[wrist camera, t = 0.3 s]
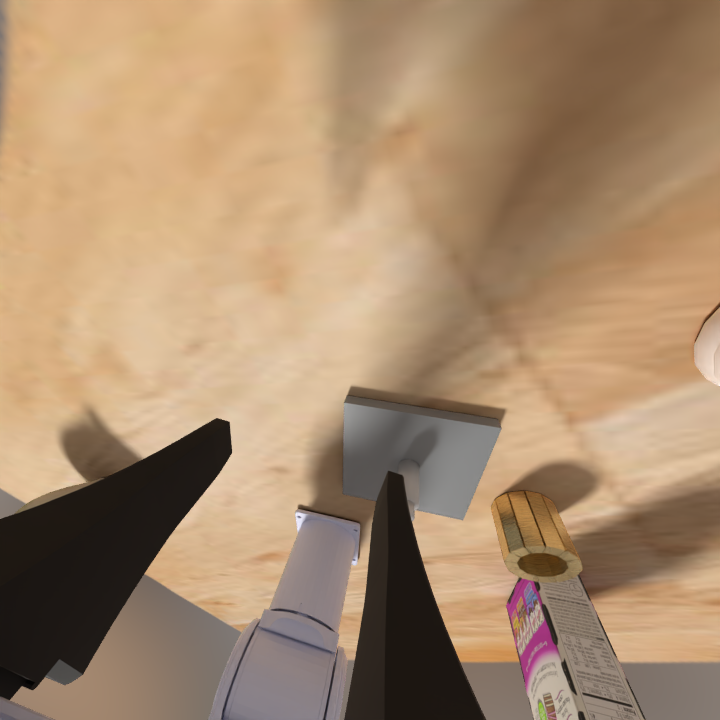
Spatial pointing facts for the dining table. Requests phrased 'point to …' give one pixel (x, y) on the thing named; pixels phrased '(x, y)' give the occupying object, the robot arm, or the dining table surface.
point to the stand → (416, 453)
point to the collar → (534, 538)
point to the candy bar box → (567, 655)
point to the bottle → (709, 349)
